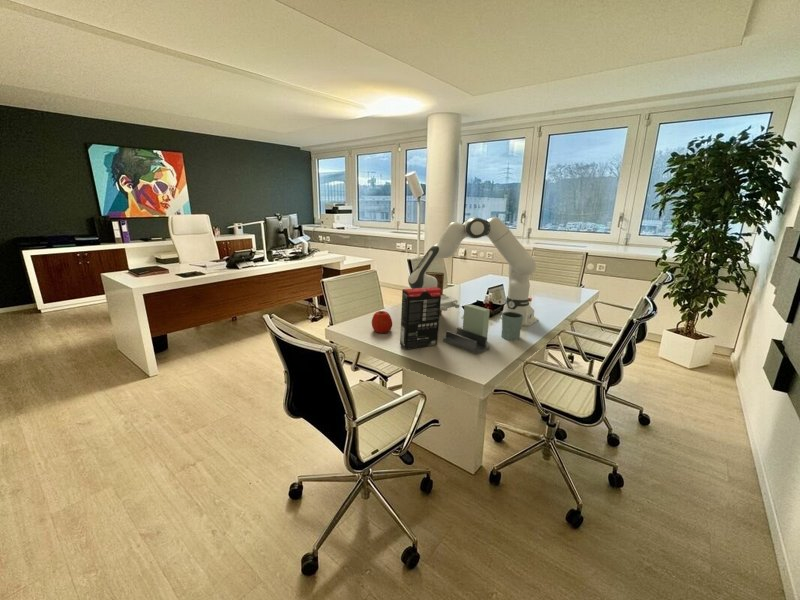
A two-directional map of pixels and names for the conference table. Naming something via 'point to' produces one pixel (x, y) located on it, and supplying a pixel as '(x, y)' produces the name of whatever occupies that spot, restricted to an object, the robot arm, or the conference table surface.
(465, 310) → the green upright rectangular block
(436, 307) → the graphics card box
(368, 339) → the conference table surface
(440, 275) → the book
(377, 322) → the apple
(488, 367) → the conference table surface
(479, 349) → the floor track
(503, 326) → the green embossed cup
